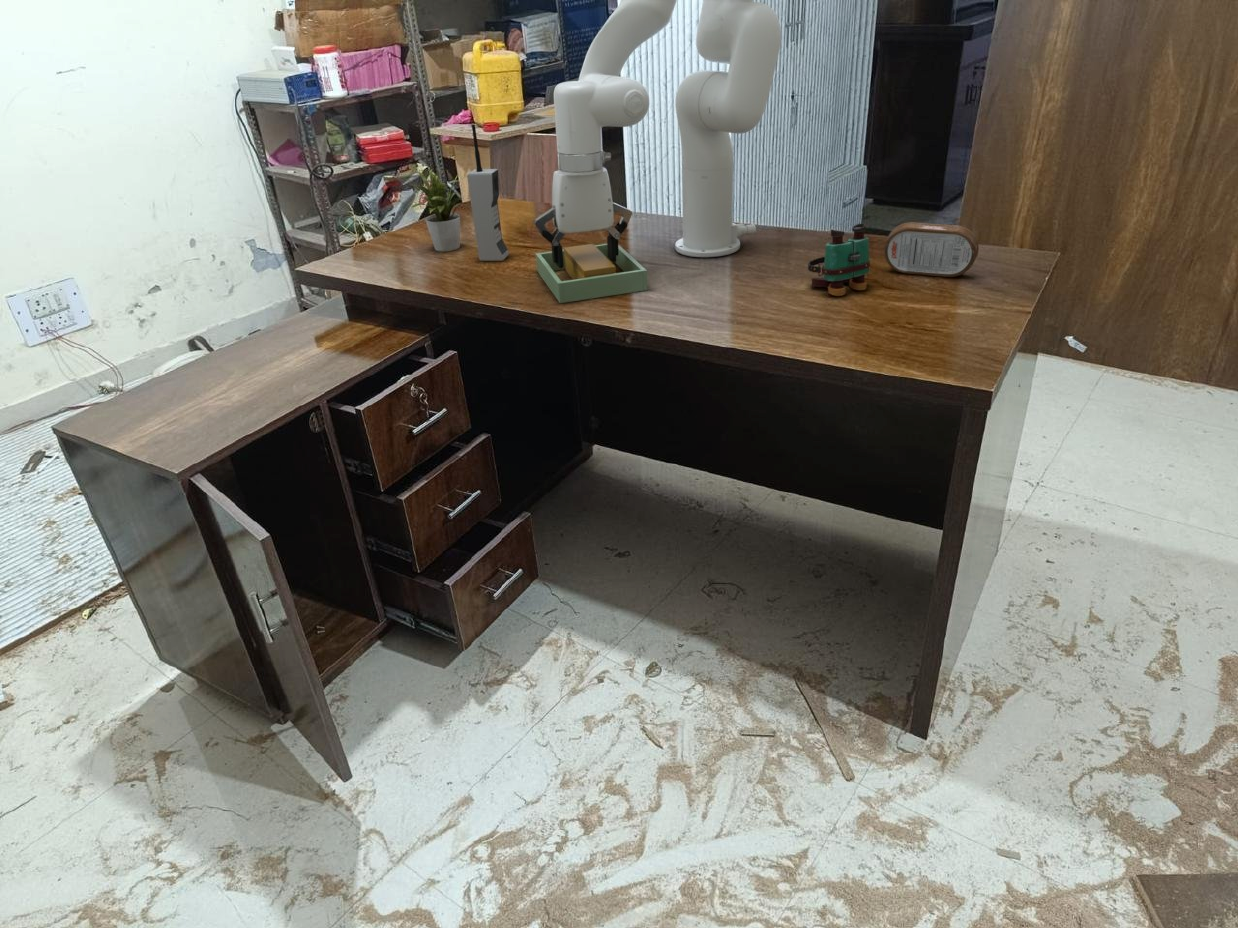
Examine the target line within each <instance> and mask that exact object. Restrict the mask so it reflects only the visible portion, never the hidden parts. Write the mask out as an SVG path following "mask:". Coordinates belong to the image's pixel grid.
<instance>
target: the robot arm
mask: <svg viewBox="0 0 1238 928" xmlns="http://www.w3.org/2000/svg"><path fill="white" fill-rule="evenodd" d="M677 2H678V0H620V2H619V4H618V6H617V7H616V8H615V9H614V11H612V13H611V15H610V16H609V17H608V19H607V20H606V21H605V22H604V24H603V25H602V27H601V28H600V29H599V31H598V32H597V34H596V35H595V37H594V38H593V40H592V42H591V44H590V46H589V47H588V50H587V52H586V54H585V58H584V61H583V63H582V65H581V69H580V72H579V76H578V80H571V81H564V82H560V83H558V84H557V85H556V86H555V87H554V90H553V107H554V122H555V137H556V151H557V152H556V153H557V166H558V167H557V168H558V170H555V171H553V177H552V187H551V189H552V190H551V208H550V209H548V210H546V212H544V213H543V214H541V215H539V216H538V217H536V218H535V219H534V220H533V224H534V225H535V227H536V228H537V230H538V232H539V233H540V235H541V236H542V237H543V238H544V239H545V240H546V241H548V243H550V244H551V245H550V246H551V251H552V258H553V262H554V263H556V265H557V266H558V267H559V268H563V267H564V266H563V251H562V250H563V245H562V244H561V241H562V240H563V239H564V237H565V236H566V235H568V234H579V233H581V234H582V233H589V232H598V231H605V230H606V231H607V232H608V235H607V237H606V244H607V250H608V258H609V259H610V260H611V261H613V262H612V263H615V262H616V256H617V255H618V254H619V250H618V245H619V239H620V238H621V236H622V234H623V233H624V232H625V230H626V229H627V227H628V224H629V223H630V220H631V218H632V216H633V211H632V210H630V209H629V208H627V207H625V206H622V205H620V204H618V203H615V202H613V194H612V187H611V183H610V177H609V173H608V170H607V167H605V164H606V163H607V162H611V161H612V154H611V152H606V151H604V150H603V132H602V128H604V127H613V128H614V127H616V128H619V127H620V128H627V127H632V126H634V125H637V124H639V123H640V122H641V121H642V120H643V119H644V118H645V117H646V115H647V113H648V111H649V109H650V96H649V92H648V90H647V88H646V87H645V86H644V85H643V83H641V82H640V81H638V80H636V79H634V78H631V77H626V76H621V75H620V74H621V72H622V70H623V68H624V66H625V65H626V63H627V60H628V59H629V58H630V56H631V55H632V54H633V53H634V51H636V49H637V48H639V46H641V45H642V44H643V43H645V42H646V41H648V40H650V39H651V38H652V37H654V36H655V35H657V34H658V33H660V32H661V31H662V30H664V29H665V28H666V27H667V26H668V24H669V23H670V22H671V20H672V16H673V13H674V10H675V8H676V4H677ZM695 36H696V37H695V45H696V49H697V52H698V54H699V55H700V56H701V57H702V59H704V60H706V61H708V62H711V63H716V64H724V65H729V66H728V69H727V71H721V70H710V69H704V70H703V69H702V70H697V71H694V72H691V73H690V74H688V75H686V76H685V77H684V78H683V79H682V80H681V82H680V83H679V84H678V87H677V90H676V93H675V99H674V100H675V101H674V103H675V113H676V118H677V123H678V129H679V135H680V144H681V145H680V146H681V193H682V194H681V195H682V197H681V198H682V238H679V239H678V240H677V241H676V242H675V244H674V249H675V251H676V252H677V253H678V254H680V255H682V256H687V257H693V258H716V257H723V256H728V255H731V254H733V253H736V252H738V251H739V250H740V248H741V241H740V238H741V237H742V236H751V235H756V234H757V227H756V225H755V224H754V223H752V224H745V223H735V222H733V211H734V210H733V209H734V208H733V207H734V205H733V201H734V148H733V142H732V139H731V135H730V134H738V135H739V134H747V133H749V132H750V131H752V130H753V129H755V128H756V127H757V125H759V123H760V121H761V119H762V118H763V115H764V114H765V110H766V107H767V103H768V100H769V95H770V91H771V88H772V83H773V79H774V75H775V70H776V67H777V62H778V58H779V53H780V48H781V42H782V29H781V23H780V19H779V17H778V15H777V13H776V11H775V10H774V9H773V8H772V7H771V6H769V5H768V4H767V3H763V2H759V1H754V0H703V1H702V4H701V10H700V16H699V19H698V24H697V28H696V35H695ZM614 213H617V214H619V215H621V216H620V220H619V221H618V222H617V223H616V224H615V225H614V222H615V214H614ZM549 221H552V223H553V226H554V229H553V231H552V232H550V231H549V230H548V229H547V228H546V224H547V223H548V222H549Z"/></svg>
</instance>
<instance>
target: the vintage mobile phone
mask: <svg viewBox="0 0 1238 928" xmlns="http://www.w3.org/2000/svg"><path fill="white" fill-rule="evenodd" d="M471 130H472V136H473V137H472V138H473V145H474V146H473V147H474V156H475V165H476V168H474V169H472V170H471V171H470V172H468V173H467V175H466V176H467V177H466V179H467V186H468V193H469V199H470V205H471V212H472V213H471V214H472V220H473V226H474V227H473V228H474V235H475V241H476V242H475V243H476V247H477V255H478V260H479V261H480V262H503V261H504V260H506V258H507V257H509V249H508V247H507V246H506V243H505V241H504V240H503V233H502V226H501V225H502V224H501V218H500V217H501V216H500V211H499V203H498V200H499V197H500V180H499V179H500V178H499V177H500V176H499V168H483V166H482V163H481V155H480V149H479V145H478V137H477V129H476V124H475V123H473V124H471Z"/></svg>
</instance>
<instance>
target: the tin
mask: <svg viewBox="0 0 1238 928" xmlns="http://www.w3.org/2000/svg"><path fill="white" fill-rule="evenodd" d="M979 247H980V246H979V241H978V239H977V237H976V235H975V233H973V232H972V231H971V230H970V229H968V228H966V227H964V226H961V225H954V224H953V225H952V224H939V223H926V222H925V223H924V222H916V221H915V222H914V221H913V222H912V221H909V222H905V223H901V224H899V225H897V226H896V227H894V228H893V229H892V230H891V231H890V232H889V234H888V236H887V238H886V240H885V243H884V248H883V253H884V258H885V261H886V262H887V264H888V266H889V267H891V269H893V270H894V271H897V272H899V273H902V274H906V275H907V274H908V275H909V274H910V275H919V276H931V277H941V278H955V277H959V276H961V275H964V274H965V273H966V272H968V271H969V270H970V269H971V268H972V266H973V265H974V263H975V261H976V260H977V257H978V255H979V249H980V248H979Z"/></svg>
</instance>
